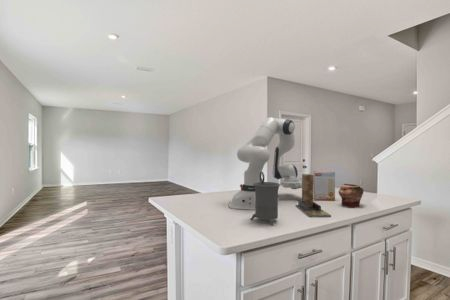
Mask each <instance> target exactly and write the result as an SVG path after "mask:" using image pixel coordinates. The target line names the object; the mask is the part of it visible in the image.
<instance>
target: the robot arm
mask: <svg viewBox="0 0 450 300" xmlns="http://www.w3.org/2000/svg"><path fill="white" fill-rule="evenodd" d="M295 127H296V126H295V123H294V122H293V120H291V119H285V118H277V117H271V116H270V117H267V118H266V119H265V120H264V121H263V122H262V123H261V125H260V126H259V128H258V129H257V131H256V132H255V134H254V136H252V138H251V139H249V141H248V142H246V143H245V144H244V145H243V146H242V147H239V148H238V149H237V151H236V156H237V159H238V160H239V161H241V162H244V163H248V167H247V169H245V170H244V172H243V183H240V184H239V187H240V190H239V191H238V192H236V193H235V194H234V195H233V196H232V200H231V202H230V203H228V207H229V208H230V209H232V210H233V209H234V210H250V211H251V210H252V211H253V210H254V211H255V187H254V185H253V184H254V183H256V182H260V178H259V176H260V172H263V169H264V167H265V164H266V163H267V162H268V161H269V160H270V157H271V153H270V151H269V149H268V148H267V147H268V146H269V145H270V144H271V141H272V140H273V138H274V136H275V134H277V135H278V145H277V146H276V147H275V149H274V156H273V165H272V166H273V167H272V170H271V171H272V173H271V174H272V177H273V178H275V179H276V180H281V179H283V181H282V182H281V183H280V186H282V188H284V189H287V188H290V189H291V190H298V189H302V178H299V177H298V169H297V166H296V165H295V164H292V163H290V164H284V165H281V158H282V157H283V156H284V154H286V153H288V152H290V151H291V150H292V149H294V147H295V134H294V130H295Z"/></svg>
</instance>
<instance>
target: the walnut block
mask: <svg viewBox="0 0 450 300" xmlns="http://www.w3.org/2000/svg"><path fill="white" fill-rule="evenodd" d="M301 179H302V188H301V200H302V202H304V203H305V204H307V205H308V206H309V208H313V202H314V199H313V198H314V197H313V174H311V173H302V174H301Z"/></svg>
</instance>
